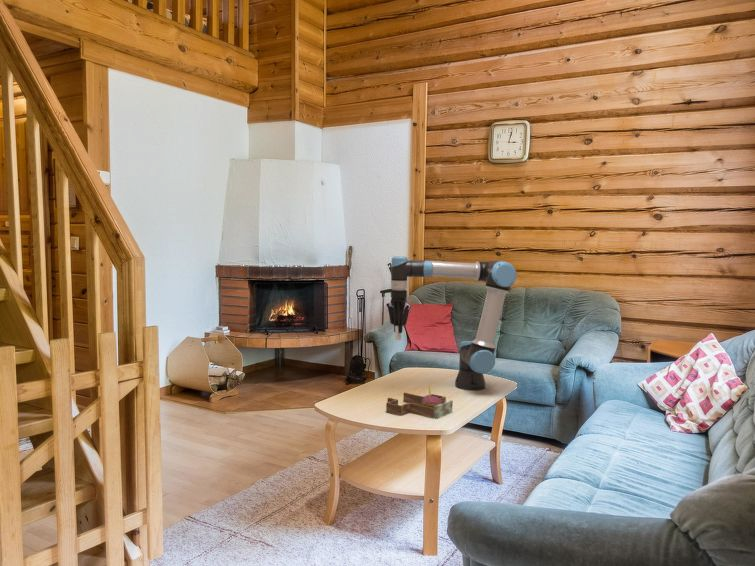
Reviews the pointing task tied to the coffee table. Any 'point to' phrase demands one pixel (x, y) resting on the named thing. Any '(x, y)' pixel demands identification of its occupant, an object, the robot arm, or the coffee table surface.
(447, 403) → the trap lane
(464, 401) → the coffee table surface
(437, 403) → the cupcake
